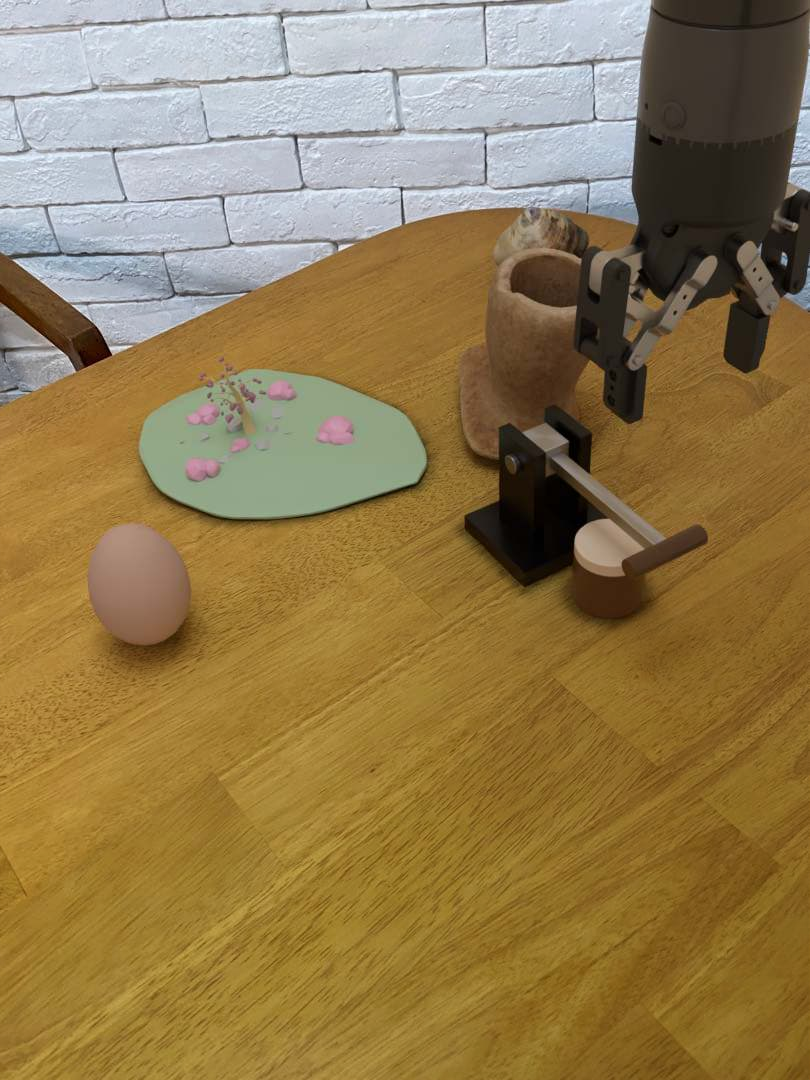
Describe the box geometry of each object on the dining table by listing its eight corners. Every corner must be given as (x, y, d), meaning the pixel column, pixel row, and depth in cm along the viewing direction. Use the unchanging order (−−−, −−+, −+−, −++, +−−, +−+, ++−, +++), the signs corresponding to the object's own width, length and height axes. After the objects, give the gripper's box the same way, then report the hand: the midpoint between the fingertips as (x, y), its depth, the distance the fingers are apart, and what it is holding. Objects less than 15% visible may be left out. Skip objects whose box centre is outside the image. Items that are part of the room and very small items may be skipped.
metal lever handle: (706, 554, 74) (710, 526, 72) (634, 590, 72) (637, 562, 70) (566, 439, 84) (567, 413, 82) (498, 468, 82) (499, 441, 80)
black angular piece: (622, 540, 85) (631, 435, 79) (524, 587, 82) (526, 481, 75) (558, 486, 90) (562, 383, 84) (464, 528, 87) (460, 424, 81)
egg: (111, 605, 83) (78, 503, 77) (203, 595, 83) (178, 493, 77) (100, 674, 78) (64, 570, 72) (199, 663, 78) (171, 559, 72)
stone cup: (607, 470, 92) (619, 306, 82) (460, 474, 92) (455, 312, 82) (589, 368, 103) (598, 213, 93) (459, 372, 104) (454, 219, 94)
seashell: (495, 297, 114) (494, 223, 108) (492, 270, 118) (491, 197, 113) (590, 292, 113) (594, 217, 108) (584, 265, 117) (587, 192, 112)
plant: (442, 379, 103) (438, 290, 97) (417, 526, 88) (411, 432, 82) (177, 375, 106) (158, 289, 100) (109, 517, 91) (81, 425, 85)
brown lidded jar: (657, 600, 80) (663, 547, 77) (601, 628, 78) (605, 576, 75) (612, 561, 83) (617, 509, 80) (557, 587, 82) (559, 535, 78)
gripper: (771, 51, 59) (731, 324, 69) (549, 118, 54) (542, 402, 64) (886, 91, 54) (824, 379, 64) (652, 170, 49) (626, 468, 59)
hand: (683, 390), depth 64 cm, fingers open, 8 cm apart
